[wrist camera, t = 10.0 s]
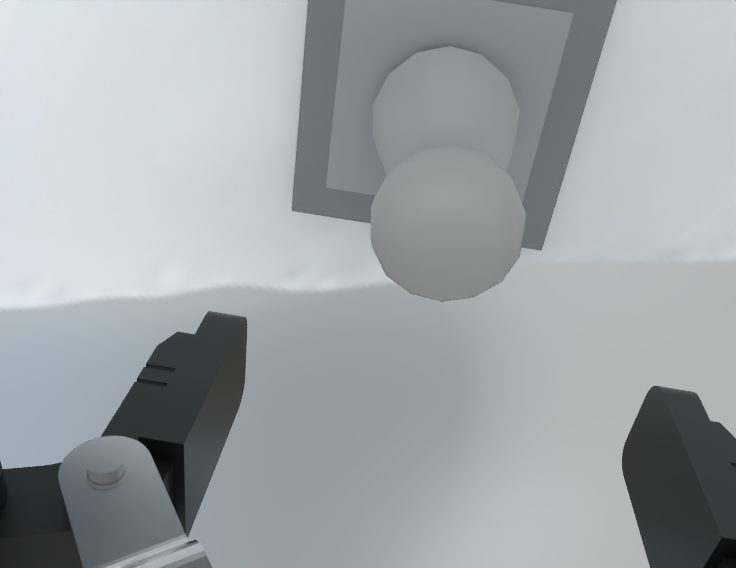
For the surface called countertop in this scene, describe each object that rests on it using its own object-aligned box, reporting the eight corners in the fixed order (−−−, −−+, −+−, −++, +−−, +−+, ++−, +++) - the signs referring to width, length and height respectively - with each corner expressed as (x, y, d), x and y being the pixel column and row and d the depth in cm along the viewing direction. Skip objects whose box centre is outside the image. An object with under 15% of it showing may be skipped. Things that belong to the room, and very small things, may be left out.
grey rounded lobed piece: (467, 191, 31) (481, 367, 20) (354, 133, 30) (304, 285, 19) (540, 75, 28) (605, 207, 17) (417, 7, 27) (401, 100, 16)
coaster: (618, -26, 27) (624, -23, 26) (539, 242, 33) (541, 251, 32) (317, -72, 27) (313, -71, 26) (294, 203, 33) (291, 211, 32)
